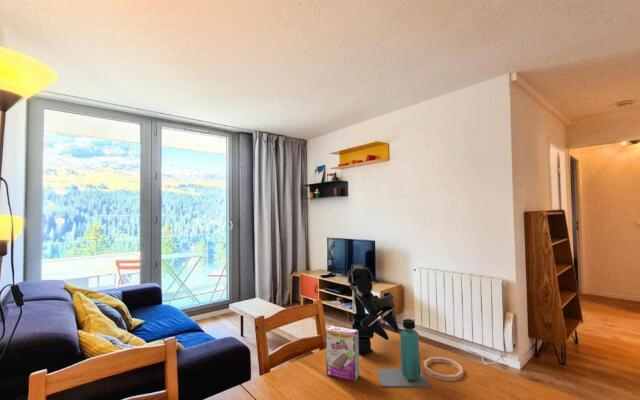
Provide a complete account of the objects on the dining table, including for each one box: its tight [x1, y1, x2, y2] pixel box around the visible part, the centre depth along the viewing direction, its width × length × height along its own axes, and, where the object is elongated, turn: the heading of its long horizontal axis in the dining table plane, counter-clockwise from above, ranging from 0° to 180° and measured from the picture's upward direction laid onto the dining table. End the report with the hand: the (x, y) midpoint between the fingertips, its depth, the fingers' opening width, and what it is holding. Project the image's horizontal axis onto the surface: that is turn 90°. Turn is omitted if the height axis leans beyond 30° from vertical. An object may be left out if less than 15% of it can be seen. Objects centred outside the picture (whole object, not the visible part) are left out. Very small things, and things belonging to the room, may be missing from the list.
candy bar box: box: [325, 325, 360, 383], centre depth 108 cm, size 11×5×16 cm, turn 65°
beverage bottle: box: [399, 318, 422, 379], centre depth 104 cm, size 6×7×20 cm
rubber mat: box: [376, 368, 431, 388], centre depth 105 cm, size 16×10×1 cm, turn 87°
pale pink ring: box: [423, 356, 464, 382], centre depth 109 cm, size 13×14×2 cm
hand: (393, 334), depth 110 cm, fingers open, 9 cm apart
